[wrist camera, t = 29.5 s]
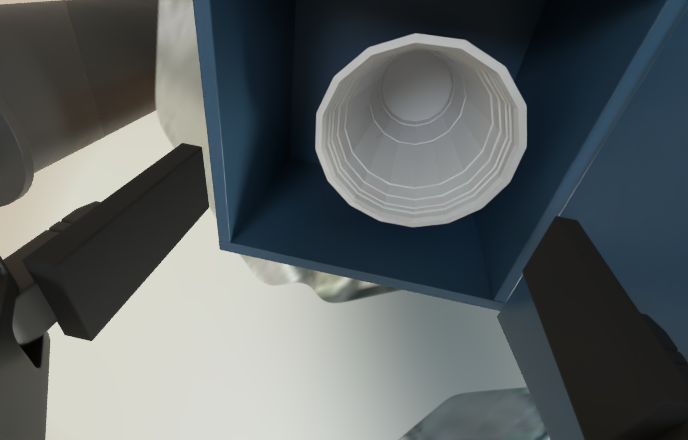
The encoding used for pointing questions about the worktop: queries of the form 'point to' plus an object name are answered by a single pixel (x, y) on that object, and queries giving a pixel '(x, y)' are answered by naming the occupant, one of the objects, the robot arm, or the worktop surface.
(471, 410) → the worktop surface
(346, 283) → the worktop surface
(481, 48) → the blue hollow box
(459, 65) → the plastic cup
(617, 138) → the lid
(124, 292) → the robot arm
